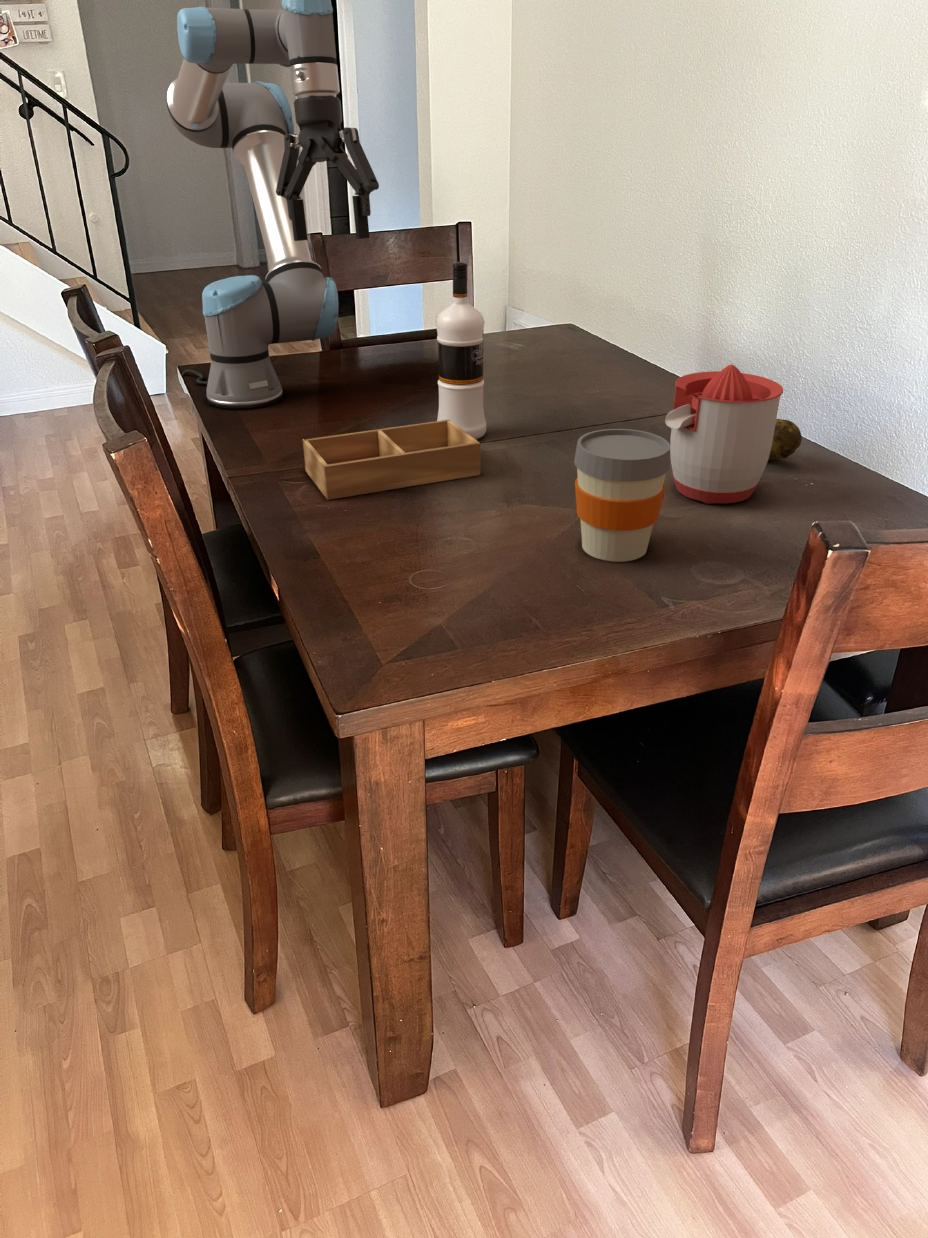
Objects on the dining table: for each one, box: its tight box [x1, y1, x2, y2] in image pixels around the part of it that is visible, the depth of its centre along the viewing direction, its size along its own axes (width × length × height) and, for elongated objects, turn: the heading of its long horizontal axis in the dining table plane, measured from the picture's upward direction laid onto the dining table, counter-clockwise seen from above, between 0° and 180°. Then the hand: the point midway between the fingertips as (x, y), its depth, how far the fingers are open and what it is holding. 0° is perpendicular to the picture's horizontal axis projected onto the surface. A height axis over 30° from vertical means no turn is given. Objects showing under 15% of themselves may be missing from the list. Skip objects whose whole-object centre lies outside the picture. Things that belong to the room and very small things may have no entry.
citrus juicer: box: [664, 363, 784, 505], centre depth 136 cm, size 16×17×20 cm
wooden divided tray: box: [302, 420, 481, 501], centre depth 148 cm, size 13×26×6 cm, turn 113°
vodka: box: [435, 261, 487, 441], centre depth 158 cm, size 9×9×30 cm
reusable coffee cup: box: [573, 428, 671, 563], centre depth 121 cm, size 13×13×15 cm
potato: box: [768, 418, 803, 461], centre depth 152 cm, size 8×13×8 cm, turn 12°
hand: (331, 239), depth 154 cm, fingers open, 13 cm apart
